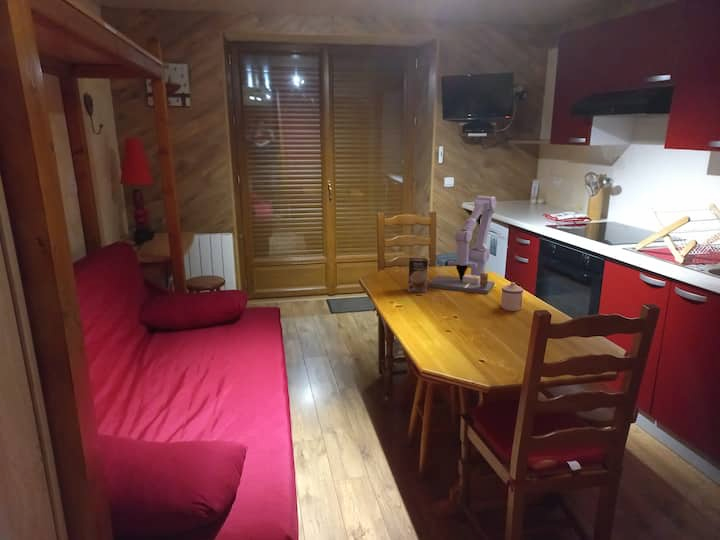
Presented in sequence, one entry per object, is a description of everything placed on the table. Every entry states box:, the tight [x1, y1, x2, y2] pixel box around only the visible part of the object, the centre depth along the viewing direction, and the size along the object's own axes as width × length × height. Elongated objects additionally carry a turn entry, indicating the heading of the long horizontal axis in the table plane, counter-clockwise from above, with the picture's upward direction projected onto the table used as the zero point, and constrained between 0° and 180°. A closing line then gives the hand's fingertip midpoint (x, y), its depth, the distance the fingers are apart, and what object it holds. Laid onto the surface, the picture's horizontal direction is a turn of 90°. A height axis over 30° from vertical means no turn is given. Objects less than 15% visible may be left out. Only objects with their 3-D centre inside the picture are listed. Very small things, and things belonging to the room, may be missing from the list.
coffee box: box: [407, 257, 429, 293], centre depth 243 cm, size 9×6×16 cm
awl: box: [480, 272, 489, 288], centre depth 241 cm, size 4×4×7 cm
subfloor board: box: [427, 274, 495, 295], centre depth 251 cm, size 16×30×2 cm, turn 64°
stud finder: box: [463, 273, 480, 284], centre depth 250 cm, size 5×8×3 cm, turn 63°
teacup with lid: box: [500, 281, 524, 312], centre depth 218 cm, size 12×9×12 cm
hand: (461, 279), depth 253 cm, fingers closed
